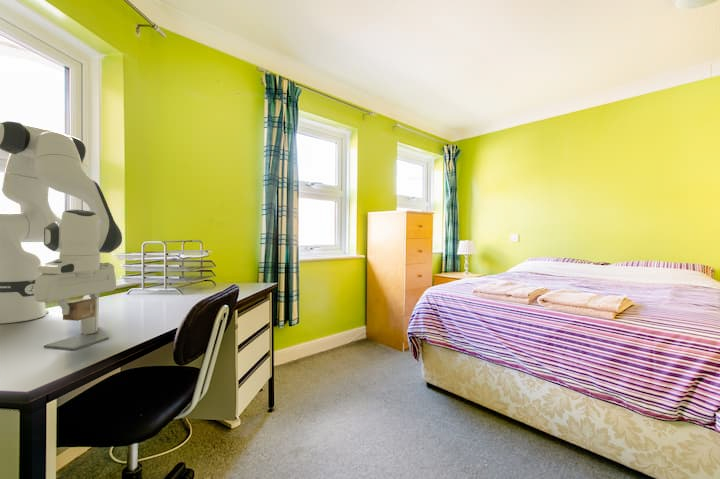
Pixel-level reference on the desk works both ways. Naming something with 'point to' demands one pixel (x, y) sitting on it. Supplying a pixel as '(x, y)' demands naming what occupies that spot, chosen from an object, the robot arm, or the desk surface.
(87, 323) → the white rounded upright block
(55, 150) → the robot arm
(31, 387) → the desk surface
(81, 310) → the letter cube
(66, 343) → the slate pad
